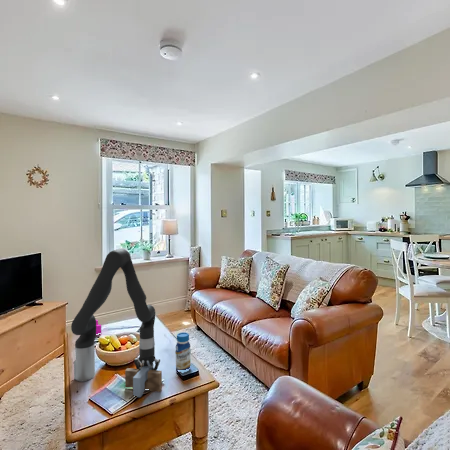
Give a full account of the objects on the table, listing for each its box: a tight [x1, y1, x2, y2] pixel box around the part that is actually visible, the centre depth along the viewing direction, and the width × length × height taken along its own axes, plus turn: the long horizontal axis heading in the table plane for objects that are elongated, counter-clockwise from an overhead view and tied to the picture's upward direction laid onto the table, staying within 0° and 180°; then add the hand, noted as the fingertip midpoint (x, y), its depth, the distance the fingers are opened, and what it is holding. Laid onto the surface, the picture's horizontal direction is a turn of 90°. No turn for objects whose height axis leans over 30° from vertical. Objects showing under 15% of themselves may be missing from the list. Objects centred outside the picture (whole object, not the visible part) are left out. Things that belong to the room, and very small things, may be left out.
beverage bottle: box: [175, 331, 192, 371], centre depth 159 cm, size 8×8×20 cm
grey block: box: [132, 366, 149, 398], centre depth 142 cm, size 4×14×9 cm, turn 170°
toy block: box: [96, 319, 102, 334], centre depth 215 cm, size 15×6×8 cm, turn 34°
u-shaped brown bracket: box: [124, 367, 163, 393], centre depth 142 cm, size 18×2×9 cm, turn 81°
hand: (147, 378), depth 147 cm, fingers closed on grey block, 3 cm apart
